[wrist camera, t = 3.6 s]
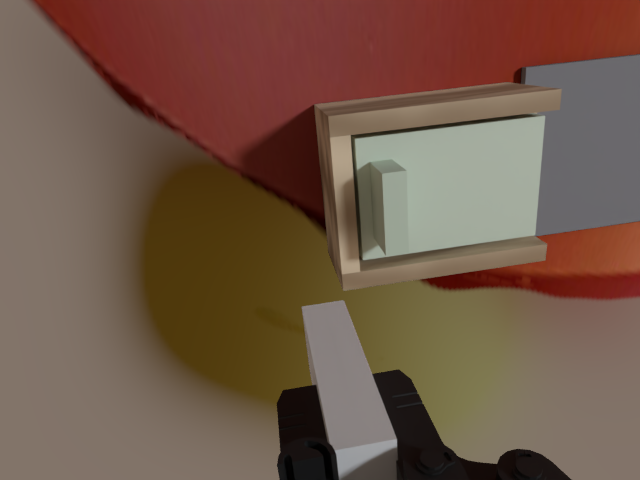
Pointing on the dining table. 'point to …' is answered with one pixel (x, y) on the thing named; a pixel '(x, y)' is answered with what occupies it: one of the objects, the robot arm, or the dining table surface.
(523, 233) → the lid plate
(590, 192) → the rubber mat
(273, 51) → the dining table surface
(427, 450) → the robot arm
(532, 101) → the oak box
